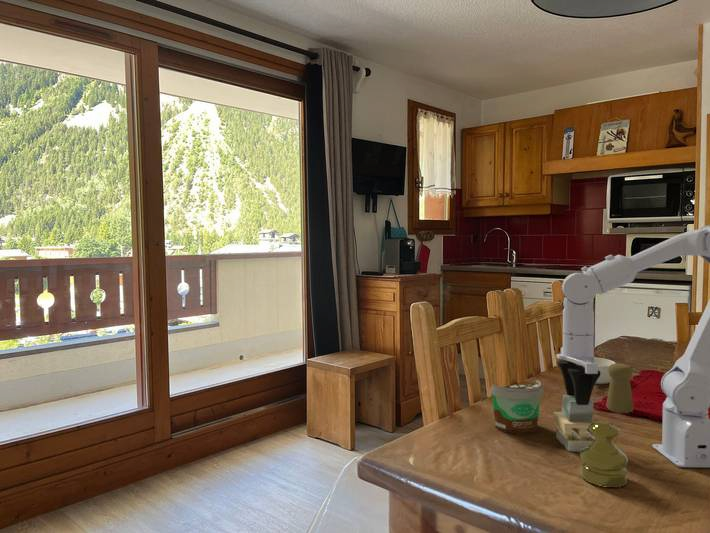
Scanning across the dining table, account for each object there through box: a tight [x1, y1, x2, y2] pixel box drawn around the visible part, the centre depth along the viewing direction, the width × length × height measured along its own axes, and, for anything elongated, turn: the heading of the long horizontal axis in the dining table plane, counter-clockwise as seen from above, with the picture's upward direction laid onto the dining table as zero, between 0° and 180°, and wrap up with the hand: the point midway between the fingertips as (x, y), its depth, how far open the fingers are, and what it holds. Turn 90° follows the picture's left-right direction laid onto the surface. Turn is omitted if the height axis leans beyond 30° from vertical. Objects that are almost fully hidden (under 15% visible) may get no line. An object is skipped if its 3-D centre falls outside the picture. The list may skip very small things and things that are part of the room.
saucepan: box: [595, 357, 617, 385], centre depth 147 cm, size 12×20×6 cm, turn 142°
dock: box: [555, 427, 595, 452], centre depth 104 cm, size 7×6×2 cm
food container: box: [489, 379, 545, 435], centre depth 111 cm, size 12×6×10 cm, turn 105°
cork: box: [605, 362, 635, 414], centre depth 124 cm, size 6×6×11 cm
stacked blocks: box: [552, 394, 598, 437], centre depth 103 cm, size 7×7×6 cm
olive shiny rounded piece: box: [579, 420, 629, 488], centre depth 88 cm, size 7×7×10 cm
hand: (577, 400), depth 103 cm, fingers closed on stacked blocks, 4 cm apart
